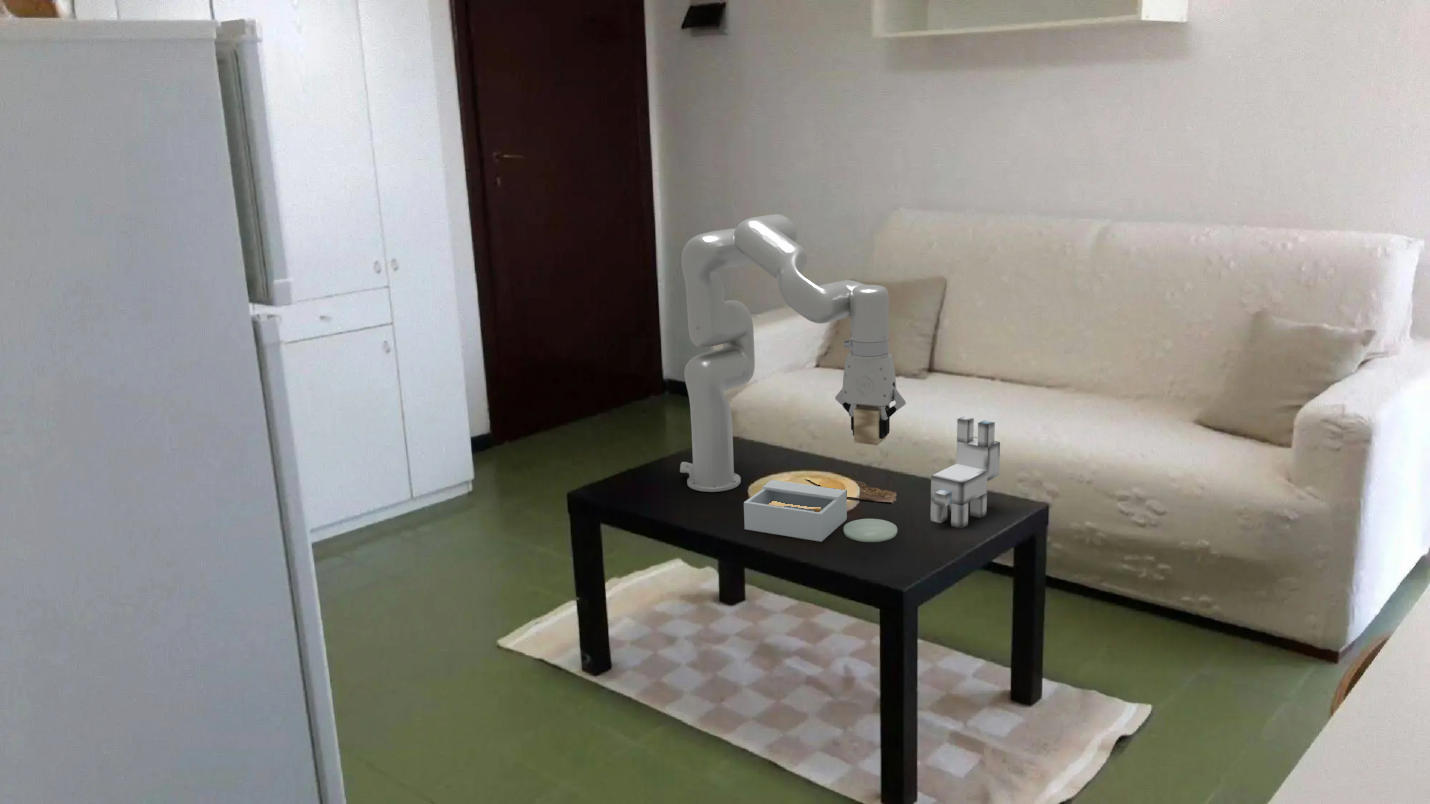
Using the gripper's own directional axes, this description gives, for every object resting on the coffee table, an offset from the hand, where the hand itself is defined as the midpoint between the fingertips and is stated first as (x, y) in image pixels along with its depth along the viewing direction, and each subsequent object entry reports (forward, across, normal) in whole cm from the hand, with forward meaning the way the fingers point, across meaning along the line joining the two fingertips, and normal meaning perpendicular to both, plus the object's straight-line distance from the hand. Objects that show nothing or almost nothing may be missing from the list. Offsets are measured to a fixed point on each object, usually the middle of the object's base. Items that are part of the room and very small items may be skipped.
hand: (870, 434), depth 232 cm
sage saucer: (+21, 0, 0) cm, 21 cm away
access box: (+21, -16, -2) cm, 27 cm away
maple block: (+1, 0, 0) cm, 1 cm away
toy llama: (+21, +14, +16) cm, 30 cm away
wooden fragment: (+22, -14, +22) cm, 34 cm away
